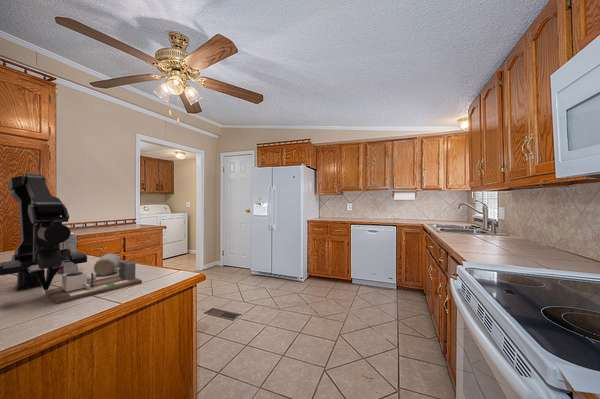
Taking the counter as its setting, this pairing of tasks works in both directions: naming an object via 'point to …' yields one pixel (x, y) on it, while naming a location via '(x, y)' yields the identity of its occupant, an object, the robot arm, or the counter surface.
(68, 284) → the gauge
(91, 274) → the peak needle
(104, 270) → the ceramic mug
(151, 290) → the counter surface
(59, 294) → the test rig
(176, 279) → the counter surface
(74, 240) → the candy bar box
